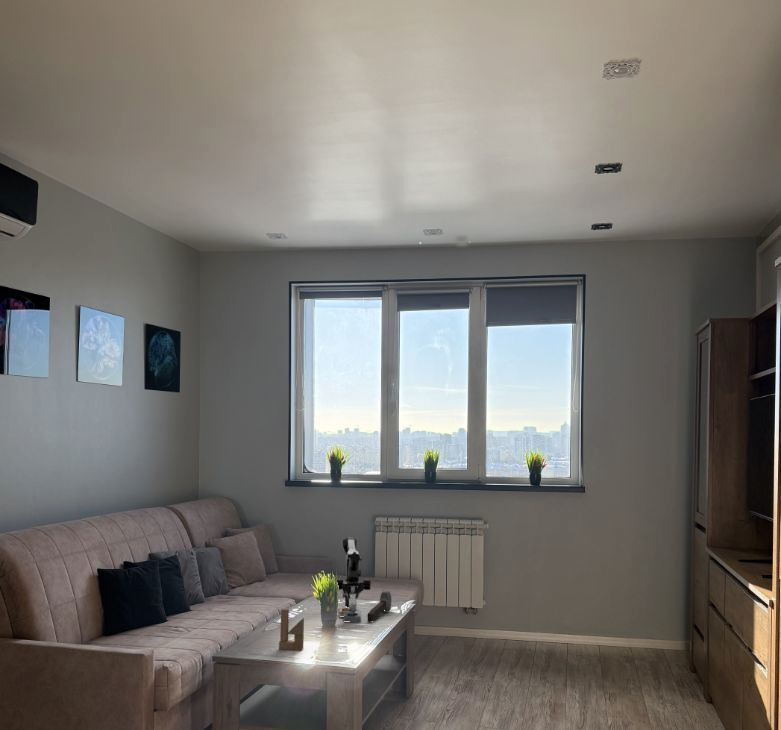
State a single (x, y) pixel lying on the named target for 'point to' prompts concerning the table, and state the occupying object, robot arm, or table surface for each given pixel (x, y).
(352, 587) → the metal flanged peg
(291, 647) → the wooden block
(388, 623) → the table surface
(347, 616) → the socket
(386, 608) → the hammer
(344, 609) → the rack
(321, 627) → the table surface
